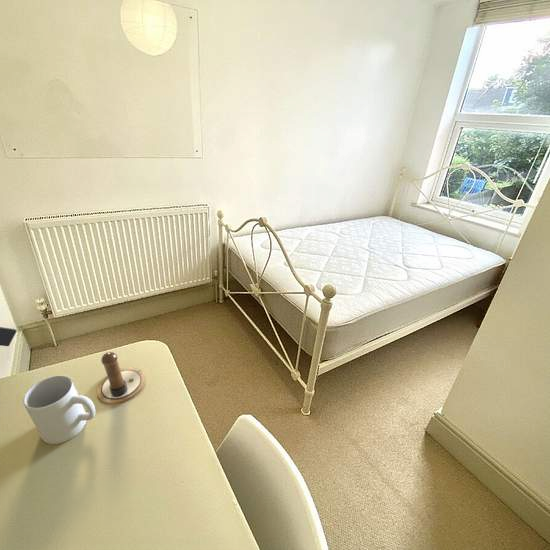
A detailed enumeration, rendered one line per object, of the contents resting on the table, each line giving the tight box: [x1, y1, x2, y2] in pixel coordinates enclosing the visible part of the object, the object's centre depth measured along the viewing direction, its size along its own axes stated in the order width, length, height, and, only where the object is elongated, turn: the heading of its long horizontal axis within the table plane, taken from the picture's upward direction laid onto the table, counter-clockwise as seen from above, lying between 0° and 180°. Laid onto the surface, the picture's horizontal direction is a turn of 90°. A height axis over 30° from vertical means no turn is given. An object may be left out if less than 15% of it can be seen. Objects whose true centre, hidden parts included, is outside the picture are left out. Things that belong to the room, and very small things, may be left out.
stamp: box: [100, 351, 127, 397], centre depth 72 cm, size 4×4×12 cm
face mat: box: [96, 367, 147, 405], centre depth 77 cm, size 11×11×1 cm
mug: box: [22, 374, 97, 445], centre depth 64 cm, size 12×8×11 cm
